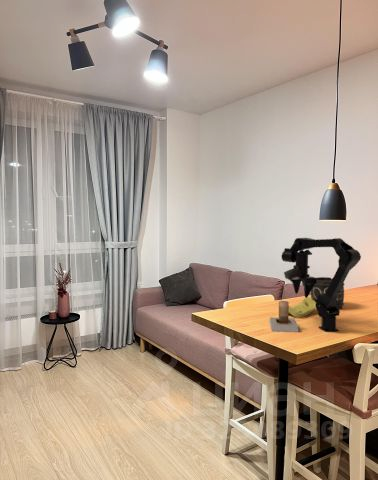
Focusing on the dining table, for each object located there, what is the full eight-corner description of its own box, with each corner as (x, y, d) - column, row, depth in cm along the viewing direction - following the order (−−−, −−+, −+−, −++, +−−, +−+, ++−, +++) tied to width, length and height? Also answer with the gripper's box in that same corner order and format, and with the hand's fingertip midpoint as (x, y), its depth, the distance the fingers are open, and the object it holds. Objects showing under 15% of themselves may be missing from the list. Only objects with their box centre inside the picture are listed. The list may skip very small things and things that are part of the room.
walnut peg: (290, 328, 166) (290, 302, 166) (281, 329, 165) (281, 303, 165) (285, 325, 171) (285, 300, 170) (276, 326, 170) (277, 301, 169)
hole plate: (294, 324, 173) (294, 317, 173) (298, 332, 162) (298, 324, 161) (269, 323, 175) (269, 317, 174) (271, 330, 163) (271, 323, 163)
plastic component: (299, 314, 182) (284, 303, 188) (294, 326, 185) (279, 314, 192) (320, 305, 195) (305, 294, 201) (315, 316, 198) (300, 305, 204)
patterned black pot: (323, 311, 196) (324, 283, 195) (304, 304, 213) (304, 277, 213) (351, 309, 201) (352, 281, 200) (330, 302, 218) (331, 276, 217)
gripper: (277, 261, 183) (277, 292, 184) (296, 266, 165) (295, 300, 166) (297, 261, 186) (297, 291, 187) (318, 265, 167) (317, 299, 168)
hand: (301, 295), depth 177 cm, fingers open, 9 cm apart
